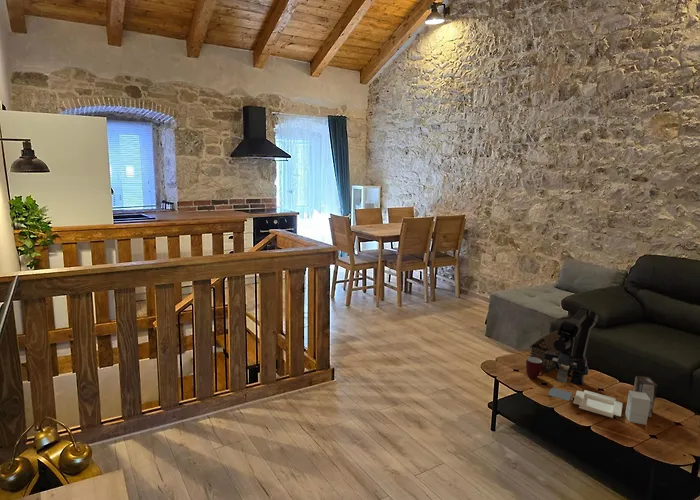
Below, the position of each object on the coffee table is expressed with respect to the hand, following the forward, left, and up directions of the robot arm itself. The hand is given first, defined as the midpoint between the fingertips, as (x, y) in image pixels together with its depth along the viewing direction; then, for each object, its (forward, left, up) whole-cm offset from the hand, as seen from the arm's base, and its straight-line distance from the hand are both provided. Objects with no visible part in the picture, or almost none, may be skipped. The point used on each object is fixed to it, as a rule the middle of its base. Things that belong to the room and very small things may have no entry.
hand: (563, 375), depth 234 cm
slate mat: (0, 0, -11) cm, 11 cm away
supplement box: (+4, +33, -11) cm, 35 cm away
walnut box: (0, 0, -2) cm, 2 cm away
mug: (-12, -15, -11) cm, 22 cm away
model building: (-33, -13, -11) cm, 37 cm away
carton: (+2, +17, -11) cm, 20 cm away
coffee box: (-7, +35, -11) cm, 37 cm away
